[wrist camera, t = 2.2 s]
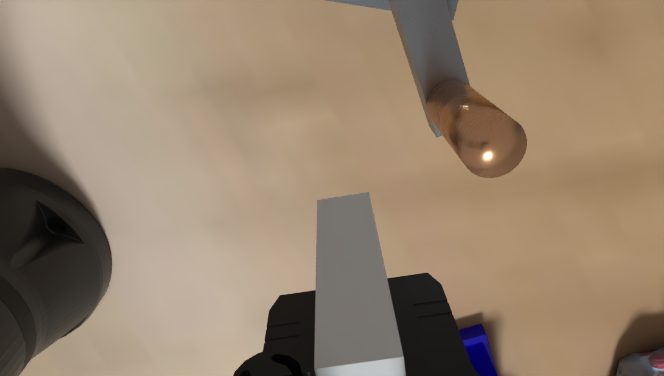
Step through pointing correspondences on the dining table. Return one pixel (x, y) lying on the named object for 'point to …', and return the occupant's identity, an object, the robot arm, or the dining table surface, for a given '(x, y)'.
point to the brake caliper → (642, 364)
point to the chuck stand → (382, 2)
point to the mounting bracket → (478, 350)
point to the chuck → (455, 91)
